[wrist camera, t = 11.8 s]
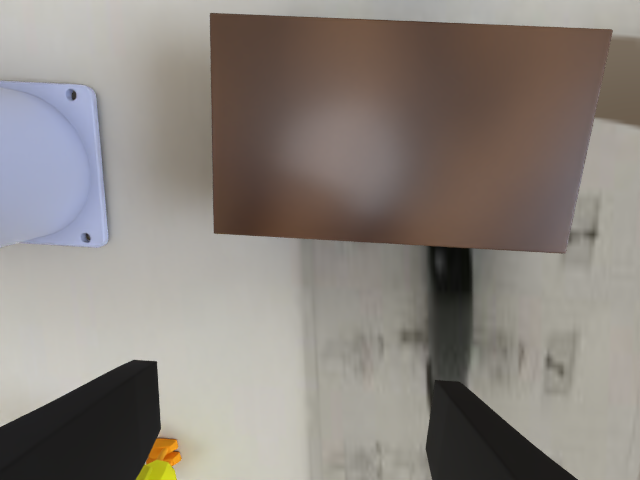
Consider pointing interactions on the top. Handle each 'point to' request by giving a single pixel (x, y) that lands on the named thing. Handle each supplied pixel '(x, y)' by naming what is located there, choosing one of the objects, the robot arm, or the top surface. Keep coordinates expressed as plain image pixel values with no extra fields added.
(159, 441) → the toy figure
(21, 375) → the top surface
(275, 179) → the brown toy table
